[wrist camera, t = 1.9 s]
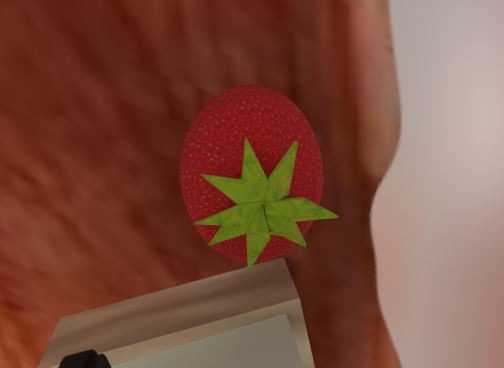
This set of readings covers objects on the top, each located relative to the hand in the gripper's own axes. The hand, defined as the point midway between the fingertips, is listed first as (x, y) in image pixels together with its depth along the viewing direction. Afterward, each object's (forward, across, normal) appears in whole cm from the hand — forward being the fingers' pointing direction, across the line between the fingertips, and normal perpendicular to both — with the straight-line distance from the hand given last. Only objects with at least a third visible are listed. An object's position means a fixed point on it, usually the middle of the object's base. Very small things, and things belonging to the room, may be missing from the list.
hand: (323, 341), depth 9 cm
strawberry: (+14, 0, -1) cm, 14 cm away
